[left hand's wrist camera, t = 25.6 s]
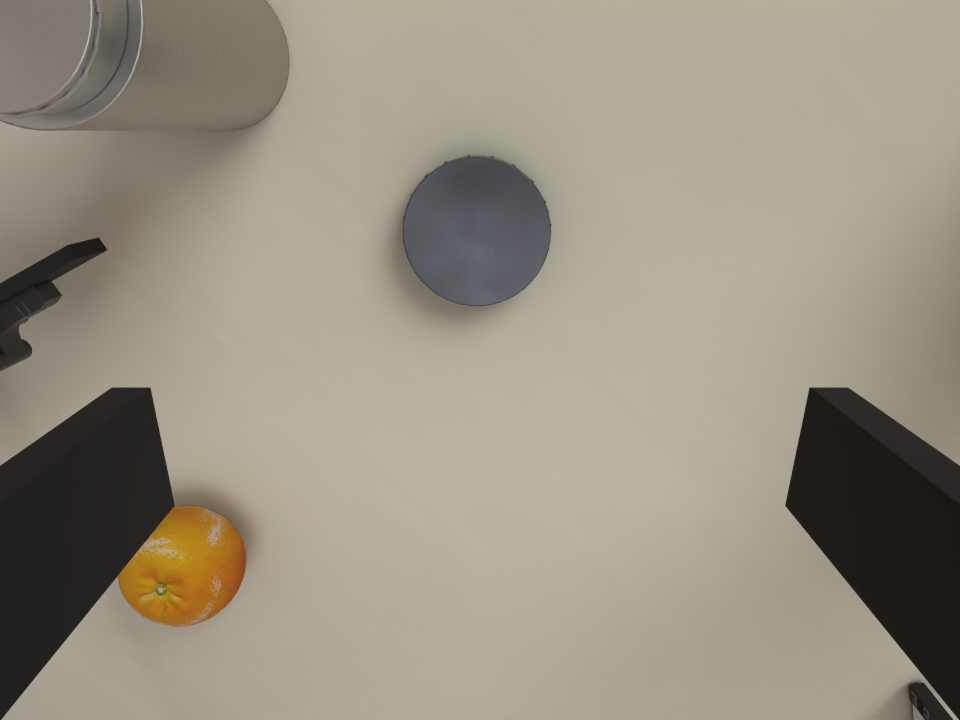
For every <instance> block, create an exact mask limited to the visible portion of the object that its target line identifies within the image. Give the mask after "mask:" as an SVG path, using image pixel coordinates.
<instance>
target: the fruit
mask: <svg viewBox="0 0 960 720" xmlns="http://www.w3.org/2000/svg"><path fill="white" fill-rule="evenodd" d="M245 566H246V551H245V546H244V543H243V540H242V538H241V536H240V535H239V533H238V531H237V530H236V529H235V527H234V526H233V525H232V523H231V522H230V521H229V520H228V519H227V518H225V517H223V516H222V515H220V514H218V513H216V512H214V511H212V510H209V509H207V508H203V507H199V506H188V505H187V506H177V507H173V508H172V510H171V511H170V512H169V513H168V514H167V516H166V517H165V518H164V519H163V521H162V522H161V523H160V524H159V526H158V527H157V528H156V529H155V531H154V532H153V533H152V534H151V535H150V537H149V538H148V539H147V540H146V542H145V543H144V544H143V545H142V547H141V548H140V549H139V550H138V551H137V553H136V554H135V555H134V556H133V558H132V559H131V560H130V561H129V563H128V564H127V565H126V566H125V567H124V569H123V570H122V571H121V572H120V574H119V575H118V581H119V585H120V589H121V591H122V594H123V596H124V597H125V599H126V601H127V602H128V603H129V604H130V606H131V607H132V608H133V609H134V610H135V611H137V612H138V613H139V614H140V615H142V616H143V617H145V618H147V619H149V620H151V621H154V622H156V623H160V624H165V625H170V626H177V627H184V626H190V625H194V624H197V623H200V622H203V621H205V620H207V619H209V618H211V617H212V616H214V615H216V614H217V613H218V612H220V611H221V610H222V609H223V608H225V607H226V605H227V604H228V603H229V602H230V601H231V600H232V599H233V597H234V596H235V594H236V593H237V591H238V589H239V587H240V585H241V582H242V579H243V577H244V573H245Z"/></svg>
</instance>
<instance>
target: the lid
mask: <svg viewBox="0 0 960 720" xmlns="http://www.w3.org/2000/svg"><path fill="white" fill-rule="evenodd" d="M533 183H534V182H533V180H532V179H529V178H528V177H527V176H526V175H525V174H524V173H522V172H521V171H520V170H519V169H518V168H516V166H515V165H514V164H513V165H511V164H510V163H507V162H505V161H503V160H501V159H497V158H494V157H493V156H491V157H489V156H480V155H472V156H470V154H468V156H464V157H460V158H456V159H453V160H451V161H449V162H448V161H445V162H444V164H443V165H441V166H439V167H438V168H436V169H435V170H434V171H433V172H431V173H430V174H427V175H426V176H425V179H424V180H423V181H422V182H421V183H420V184H419V186H418V187H417V188H416V190H415V191H414V192H413V193H412V194H411V199H410V200H409V203H408V206H407V208H406V212H405V216H404V218H403V219H404V223H403V242H404V246H405V250H406V254H407V257H408V259H409V262H410V264H411V266H412V268H413V269H414V271H415V273H416V274H417V276H418V277H419V278H420V279H421V281H422V282H423V283H424V284H425V285H426V286H427V287H428V288H429V289H431V290H432V291H433V292H435V293H436V294H438V295H439V296H441V297H443V298H445V299H447V300H450V301H452V302H455V303H459V304H462V305H470V306H484V305H491V304H495V303H499V302H502V301H504V300H507V299H509V298H511V297H513V296H515V295H516V294H518V293H519V292H520V291H522V290H523V289H524V288H525V287H527V286H528V285H529V284H530V283H531V282H532V280H533V279H534V278H535V277H536V276H537V274H538V272H539V271H540V269H541V268H542V266H543V263H544V261H545V259H546V256H547V253H548V250H549V245H550V236H551V227H550V226H551V224H550V218H549V214H548V210H547V207H546V204H545V203H546V201H545V200H544V199H543V197H542V196H541V194H540V192H539V191H538V189H537V188H536V186H535V185H534V184H533Z"/></svg>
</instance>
